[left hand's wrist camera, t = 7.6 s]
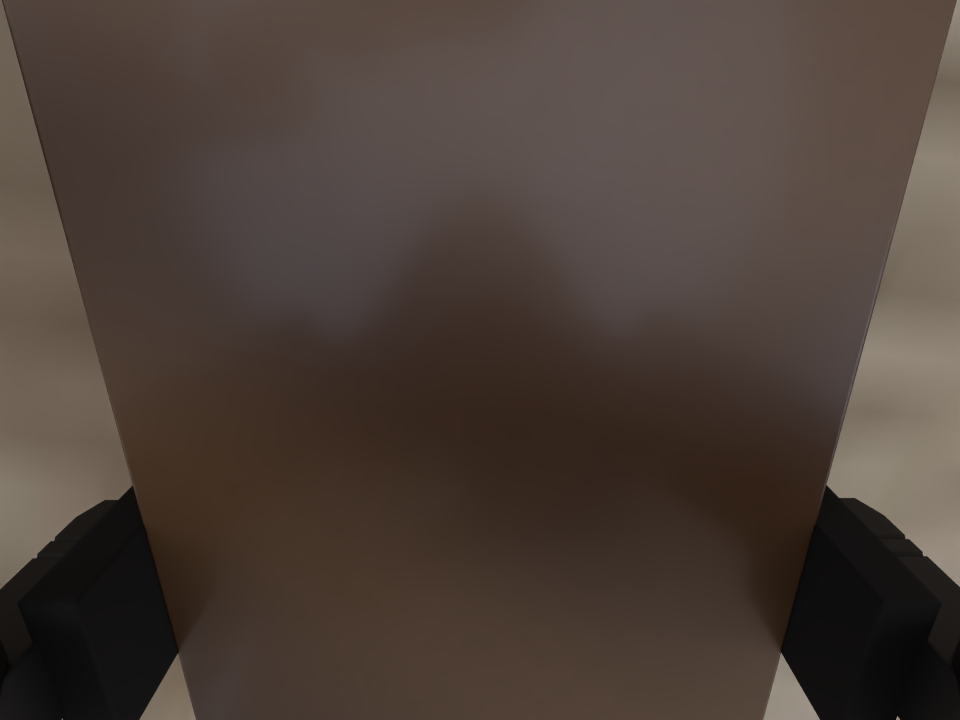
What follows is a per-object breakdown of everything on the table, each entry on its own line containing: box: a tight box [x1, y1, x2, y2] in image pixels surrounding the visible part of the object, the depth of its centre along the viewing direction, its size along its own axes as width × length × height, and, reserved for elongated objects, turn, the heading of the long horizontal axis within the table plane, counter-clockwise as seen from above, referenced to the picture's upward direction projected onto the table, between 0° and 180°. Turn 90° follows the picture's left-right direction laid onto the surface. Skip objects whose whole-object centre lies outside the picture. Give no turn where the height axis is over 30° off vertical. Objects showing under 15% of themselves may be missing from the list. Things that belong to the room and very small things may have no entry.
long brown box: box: [2, 0, 957, 720], centre depth 13 cm, size 17×10×11 cm, turn 0°
